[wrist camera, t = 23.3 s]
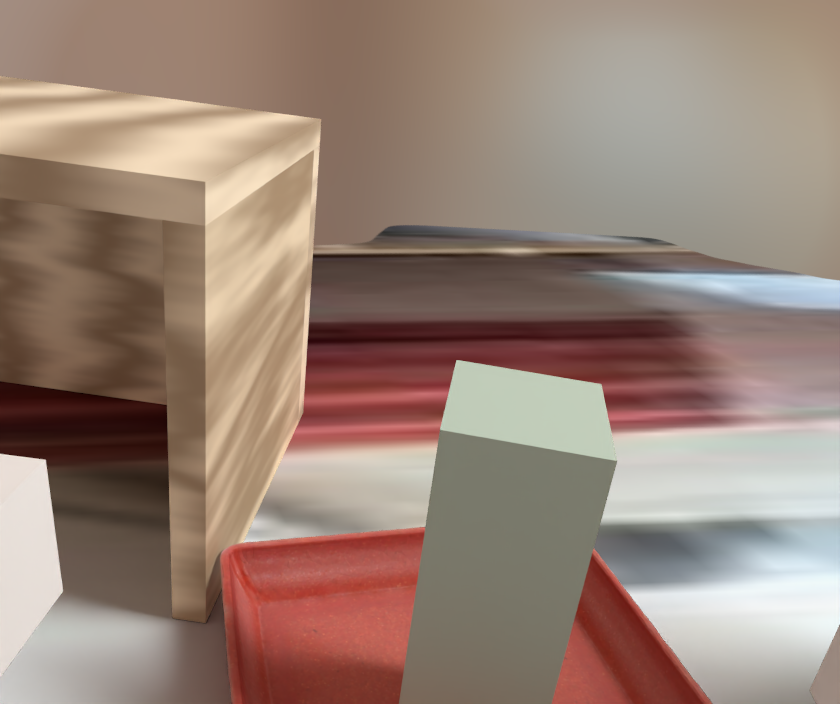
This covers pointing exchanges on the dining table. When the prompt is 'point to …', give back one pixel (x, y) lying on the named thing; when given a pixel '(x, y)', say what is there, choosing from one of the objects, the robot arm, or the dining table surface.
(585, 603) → the plant saucer
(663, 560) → the dining table surface
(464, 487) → the tall block
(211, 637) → the dining table surface
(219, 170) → the cubby box
